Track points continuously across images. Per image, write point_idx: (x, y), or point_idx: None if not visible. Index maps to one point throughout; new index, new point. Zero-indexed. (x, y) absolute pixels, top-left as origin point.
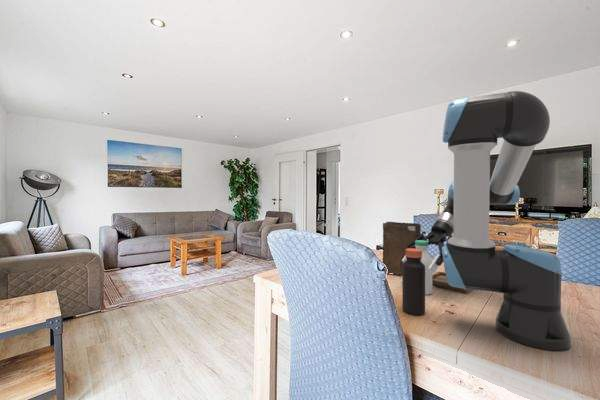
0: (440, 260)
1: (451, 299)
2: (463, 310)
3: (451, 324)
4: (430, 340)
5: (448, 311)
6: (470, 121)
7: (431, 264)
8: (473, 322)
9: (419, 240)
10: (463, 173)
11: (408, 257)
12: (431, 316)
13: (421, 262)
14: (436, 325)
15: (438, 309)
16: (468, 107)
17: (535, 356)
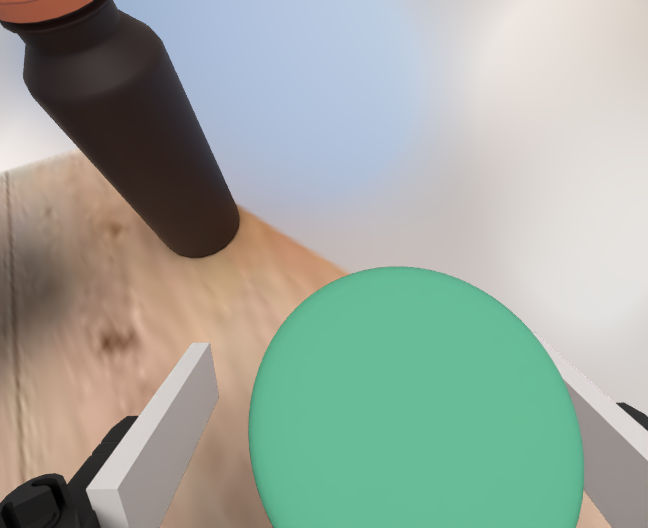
0: (92, 453)
1: (193, 502)
2: (86, 418)
3: (68, 261)
4: (70, 152)
5: (124, 342)
6: None
7: (186, 370)
8: (18, 345)
9: (489, 411)
10: None
11: None
12: (141, 249)
13: (27, 54)
14: (97, 217)
15: (159, 320)
16: None
17: None
